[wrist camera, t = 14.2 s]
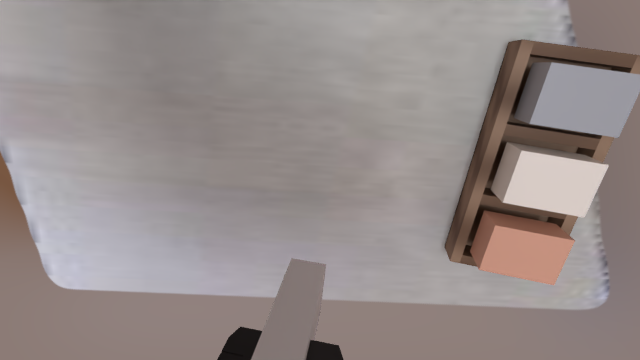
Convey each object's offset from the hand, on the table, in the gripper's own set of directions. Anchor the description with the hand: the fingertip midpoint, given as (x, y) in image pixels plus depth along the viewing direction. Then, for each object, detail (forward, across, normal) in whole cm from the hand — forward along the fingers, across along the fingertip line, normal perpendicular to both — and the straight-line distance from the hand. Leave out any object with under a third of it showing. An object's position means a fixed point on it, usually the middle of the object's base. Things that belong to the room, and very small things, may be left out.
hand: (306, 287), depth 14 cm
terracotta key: (+20, +18, -6) cm, 27 cm away
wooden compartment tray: (+23, +18, +1) cm, 29 cm away
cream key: (+20, +18, +1) cm, 27 cm away
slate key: (+21, +18, +8) cm, 29 cm away
